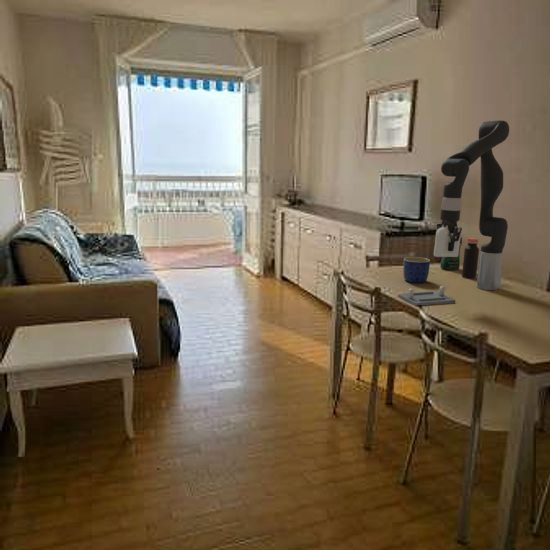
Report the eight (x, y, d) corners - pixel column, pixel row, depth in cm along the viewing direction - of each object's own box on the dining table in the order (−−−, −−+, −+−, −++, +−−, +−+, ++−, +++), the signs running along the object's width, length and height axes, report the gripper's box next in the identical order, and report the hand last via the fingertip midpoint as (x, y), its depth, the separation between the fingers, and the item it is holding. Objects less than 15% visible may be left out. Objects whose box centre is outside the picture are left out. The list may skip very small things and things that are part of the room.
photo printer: (454, 255, 204) (457, 226, 201) (459, 257, 200) (463, 227, 197) (431, 255, 202) (434, 226, 199) (436, 257, 198) (439, 227, 195)
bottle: (459, 277, 246) (463, 238, 241) (464, 275, 251) (468, 237, 246) (473, 279, 241) (477, 240, 237) (478, 277, 246) (482, 238, 241)
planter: (433, 283, 233) (435, 261, 231) (410, 284, 231) (411, 262, 228) (419, 277, 245) (421, 256, 243) (397, 278, 242) (399, 257, 240)
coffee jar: (444, 270, 260) (447, 236, 256) (438, 267, 268) (441, 234, 263) (461, 270, 261) (464, 236, 256) (455, 267, 268) (458, 234, 264)
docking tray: (436, 293, 215) (436, 282, 214) (455, 302, 202) (456, 290, 201) (398, 296, 210) (398, 285, 209) (415, 306, 197) (416, 293, 196)
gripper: (470, 210, 191) (465, 252, 195) (447, 207, 204) (443, 246, 208) (453, 210, 189) (449, 253, 193) (432, 207, 202) (428, 247, 206)
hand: (446, 249), depth 200 cm, fingers closed on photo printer, 4 cm apart
